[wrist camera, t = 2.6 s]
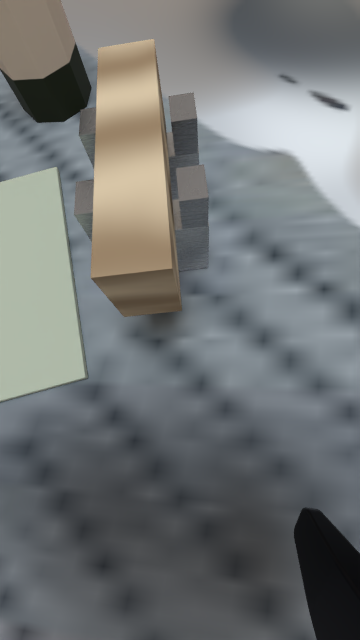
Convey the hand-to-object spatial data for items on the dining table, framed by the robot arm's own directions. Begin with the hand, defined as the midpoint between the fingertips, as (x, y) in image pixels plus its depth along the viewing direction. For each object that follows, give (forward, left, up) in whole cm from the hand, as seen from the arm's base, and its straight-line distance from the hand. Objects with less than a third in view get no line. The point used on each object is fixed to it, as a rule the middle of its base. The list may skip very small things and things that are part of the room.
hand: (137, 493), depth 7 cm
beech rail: (+7, +14, -7) cm, 17 cm away
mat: (-4, +20, -12) cm, 24 cm away
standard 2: (+7, +13, -12) cm, 19 cm away
